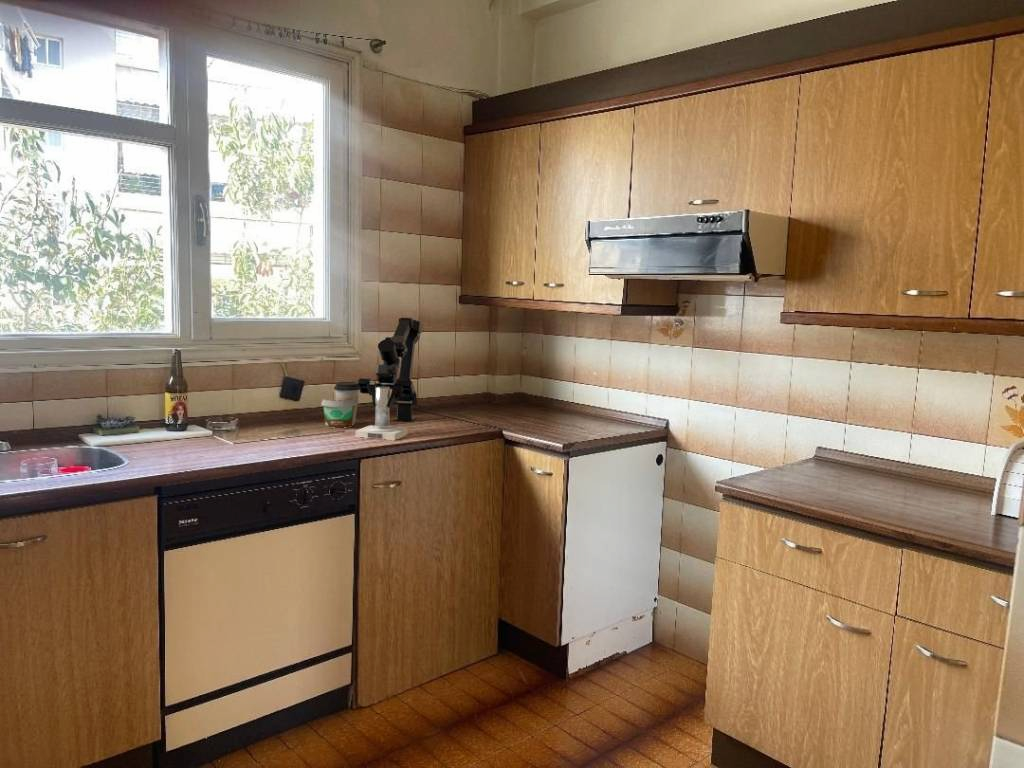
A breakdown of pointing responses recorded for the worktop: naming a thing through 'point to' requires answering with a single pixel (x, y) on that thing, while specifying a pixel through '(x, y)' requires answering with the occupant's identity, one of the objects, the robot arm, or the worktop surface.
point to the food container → (338, 413)
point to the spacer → (382, 405)
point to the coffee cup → (347, 393)
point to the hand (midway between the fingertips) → (381, 406)
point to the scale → (381, 432)
